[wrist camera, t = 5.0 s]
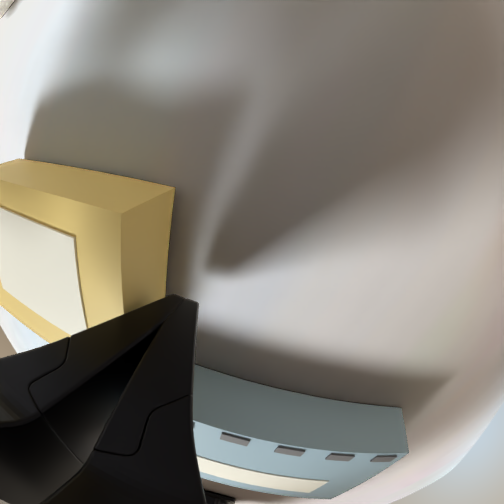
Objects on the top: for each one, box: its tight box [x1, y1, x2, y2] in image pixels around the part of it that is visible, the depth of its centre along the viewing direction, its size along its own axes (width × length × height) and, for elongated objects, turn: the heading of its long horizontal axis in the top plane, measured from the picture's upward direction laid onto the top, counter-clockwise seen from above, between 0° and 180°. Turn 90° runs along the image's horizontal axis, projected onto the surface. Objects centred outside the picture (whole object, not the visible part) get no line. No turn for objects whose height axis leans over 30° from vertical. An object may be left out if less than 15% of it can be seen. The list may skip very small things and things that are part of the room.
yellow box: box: [0, 159, 175, 343], centre depth 8 cm, size 6×8×3 cm
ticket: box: [193, 365, 409, 499], centre depth 10 cm, size 8×14×3 cm, turn 77°
